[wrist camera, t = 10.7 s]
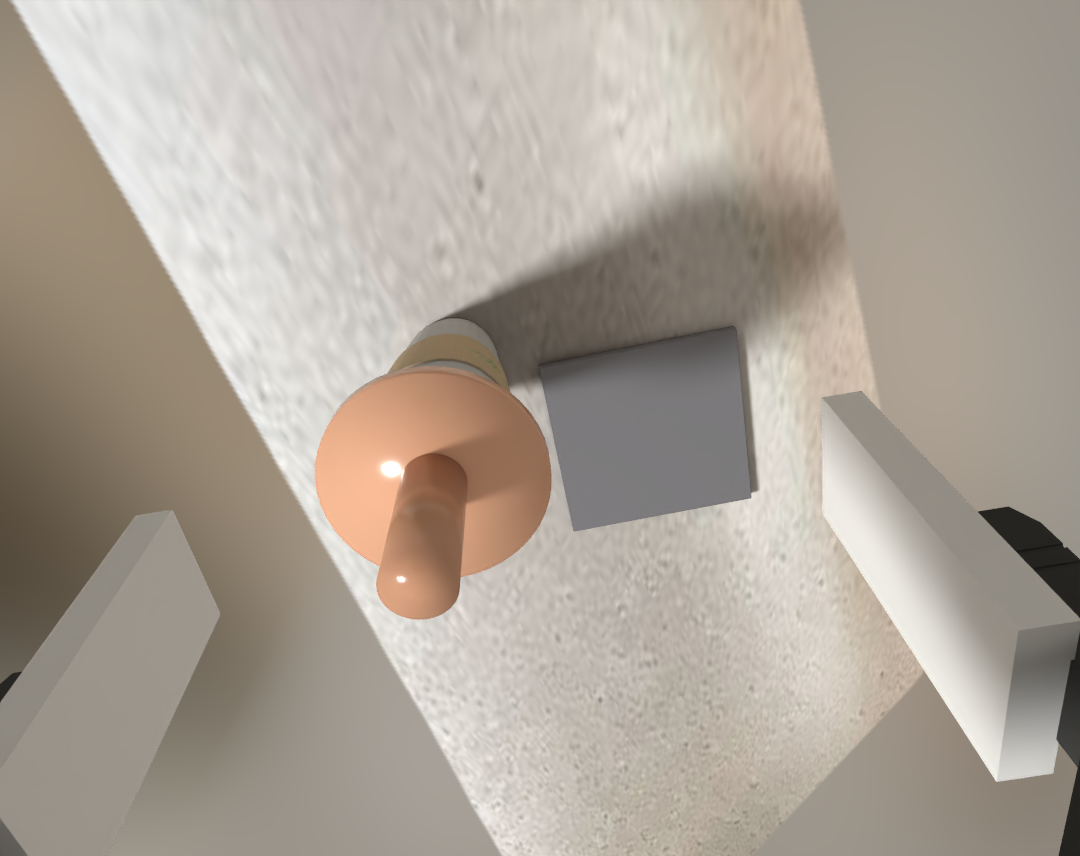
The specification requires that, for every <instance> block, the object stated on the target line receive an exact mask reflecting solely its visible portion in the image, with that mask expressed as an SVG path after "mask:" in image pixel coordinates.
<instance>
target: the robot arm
mask: <svg viewBox="0 0 1080 856" xmlns="http://www.w3.org/2000/svg"><path fill="white" fill-rule="evenodd" d="M822 464H823V515H824V516H825V518H826V519H827V521H828V523H829V524H830V526H831V527H832V529H833V530H834V532H835V533H836V535H837V536H838V538H839V539H840V541H841V543H842V544H843V546H844V547H845V549H846V550H847V552H848V553H849V555H850V556H851V558H852V560H853V561H854V563H855V564H856V566H857V567H858V569H859V570H860V572H861V573H862V575H863V577H864V578H865V580H866V581H867V583H868V584H869V586H870V587H871V589H872V590H873V592H874V593H875V595H876V597H877V598H878V600H879V601H880V603H881V604H882V606H883V607H884V609H885V610H886V612H887V614H888V615H889V617H890V618H891V620H892V621H893V623H894V624H895V626H896V627H897V629H898V630H899V632H900V634H901V635H902V637H903V638H904V640H905V641H906V643H907V644H908V646H909V647H910V649H911V651H912V652H913V654H914V655H915V657H916V658H917V660H918V661H919V663H920V664H921V666H922V668H923V669H924V671H925V672H926V673H927V675H928V677H929V678H930V680H931V681H932V683H933V684H934V686H935V688H936V689H937V691H938V692H939V694H940V695H941V697H942V698H943V700H944V701H945V703H946V704H947V706H948V708H949V709H950V711H951V712H952V714H953V715H954V717H955V718H956V720H957V721H958V723H959V724H960V726H961V728H962V729H963V731H964V732H965V734H966V735H967V737H968V738H969V740H970V741H971V743H972V745H973V746H974V748H975V749H976V751H977V752H978V754H979V755H980V757H981V759H982V760H983V761H984V763H985V765H986V766H987V767H988V769H989V771H990V772H991V774H992V775H993V777H994V779H995V780H996V782H999V781H1006V780H1012V779H1019V778H1025V777H1032V776H1038V775H1045V774H1051V773H1053V770H1054V764H1055V759H1056V754H1057V749H1058V743H1059V744H1060V745H1061V746H1062V748H1063V749H1064V750H1065V751H1066V753H1067V754H1068V755H1069V757H1070V758H1071V759H1072V761H1073V762H1074V763H1075V765H1076V766H1077V767H1078V770H1077V774H1076V779H1075V784H1074V788H1073V793H1072V797H1071V802H1070V807H1069V811H1068V815H1067V821H1066V825H1065V829H1064V834H1063V838H1062V843H1061V847H1060V852H1059V856H1080V559H1079V558H1078V557H1077V556H1076V555H1075V554H1074V553H1072V552H1071V551H1070V550H1069V549H1068V548H1067V547H1066V548H1064V547H1063V543H1062V542H1061V541H1060V540H1059V539H1057V538H1056V537H1055V536H1054V535H1053V534H1052V533H1051V532H1050V531H1049V530H1048V529H1047V528H1046V527H1045V526H1044V525H1043V524H1042V523H1040V522H1038V521H1036V520H1034V519H1032V518H1030V517H1028V516H1026V515H1024V514H1022V513H1020V512H1018V511H1016V510H1014V509H1012V508H1010V507H1004V508H997V509H992V510H985V511H979V512H977V511H976V510H975V509H974V508H973V507H972V506H971V505H970V504H969V502H967V500H966V499H965V498H964V497H963V496H962V495H961V494H960V493H959V492H958V491H957V490H956V489H955V488H954V487H953V486H952V485H951V484H950V483H949V482H948V481H947V480H946V479H945V477H944V476H943V475H942V474H941V473H940V472H939V471H938V470H937V469H936V468H935V467H934V466H933V465H932V464H931V463H930V462H929V461H928V460H927V459H926V458H925V457H924V456H923V455H922V454H921V453H920V451H919V450H918V449H917V448H916V447H915V446H914V445H913V444H912V443H911V442H910V441H909V440H908V439H907V438H906V437H905V436H904V435H903V434H902V433H901V432H900V431H899V430H898V429H897V428H896V427H895V426H894V424H892V423H891V421H890V420H889V419H888V418H887V417H886V416H885V415H884V414H883V413H882V412H881V411H880V410H879V409H878V408H877V407H876V406H875V405H874V404H873V403H872V402H871V401H870V399H869V398H868V397H867V396H866V395H865V394H864V393H863V392H862V391H858V392H852V393H847V394H841V395H835V396H829V397H823V398H822ZM219 616H220V612H219V610H218V607H217V605H216V603H215V601H214V599H213V597H212V594H211V592H210V590H209V588H208V586H207V584H206V582H205V579H204V577H203V575H202V573H201V571H200V568H199V566H198V564H197V562H196V560H195V558H194V555H193V553H192V551H191V549H190V547H189V545H188V542H187V541H186V538H185V536H184V534H183V532H182V530H181V527H180V526H179V523H178V521H177V519H176V517H175V514H174V512H173V510H166V511H160V512H155V513H149V514H143V515H137V516H135V517H134V519H133V520H132V521H131V523H130V524H129V525H128V527H127V528H126V530H125V531H124V533H123V534H122V535H121V537H120V538H119V539H118V541H117V542H116V544H115V545H114V546H113V548H112V549H111V551H110V552H109V553H108V555H107V556H106V557H105V559H104V560H103V561H102V563H101V564H100V566H99V567H98V568H97V570H96V571H95V573H94V574H93V575H92V577H91V578H90V579H89V581H88V582H87V583H86V585H85V586H84V588H83V589H82V591H81V592H80V593H79V595H78V596H77V597H76V599H75V600H74V601H73V603H72V604H71V605H70V607H69V608H68V610H67V611H66V612H65V614H64V615H63V617H62V618H61V619H60V621H59V622H58V623H57V625H56V626H55V628H54V629H53V630H52V632H51V633H50V634H49V636H48V637H47V639H46V640H45V642H44V643H43V644H42V645H41V647H40V648H39V650H38V651H37V653H36V654H35V655H34V656H33V658H32V659H31V661H30V662H29V663H28V665H27V666H26V668H25V669H24V670H23V672H17V673H13V674H11V675H10V676H9V677H8V678H7V679H6V680H4V681H3V682H2V683H1V684H0V856H108V855H109V853H110V851H111V848H112V846H113V844H114V842H115V840H116V838H117V836H118V833H119V831H120V829H121V827H122V825H123V823H124V820H125V818H126V816H127V814H128V812H129V810H130V808H131V805H132V803H133V801H134V799H135V797H136V795H137V793H138V790H139V788H140V786H141V784H142V782H143V780H144V777H145V775H146V773H147V771H148V769H149V767H150V765H151V762H152V760H153V758H154V756H155V754H156V752H157V749H158V747H159V745H160V743H161V741H162V739H163V737H164V734H165V732H166V730H167V728H168V726H169V723H170V722H171V719H172V717H173V715H174V713H175V711H176V709H177V707H178V704H179V702H180V700H181V698H182V696H183V693H184V691H185V689H186V687H187V685H188V683H189V681H190V679H191V676H192V674H193V672H194V670H195V668H196V665H197V663H198V661H199V659H200V657H201V655H202V653H203V650H204V648H205V646H206V644H207V642H208V640H209V638H210V635H211V633H212V631H213V629H214V627H215V625H216V622H217V620H218V618H219Z"/></svg>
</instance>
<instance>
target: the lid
mask: <svg viewBox="0 0 1080 856" xmlns="http://www.w3.org/2000/svg"><path fill="white" fill-rule="evenodd" d="M315 482H316V489H317V494H318V498H319V501H320V504H321V507H322V509H323V511H324V513H325V516H326V518H327V519H328V521H329V522H330V524H331V526H332V527H333V529H334V530H335V531H336V532H337V534H338V535H339V536H340V537H341V538H342V540H343V541H344V542H346V543H347V544H348V545H349V546H350V547H351V548H352V549H353V550H354V551H356V552H357V553H358V554H360V555H361V556H363V557H364V558H366V559H367V560H369V561H371V562H373V563H374V564H376V565H378V566H380V568H379V573H378V577H377V582H376V587H377V592H378V595H379V597H380V599H381V601H382V602H383V604H384V605H385V606H386V607H387V608H388V609H390V610H391V611H392V612H394V613H396V614H398V615H400V616H402V617H406V618H410V619H429V618H433V617H436V616H439V615H441V614H443V613H444V612H446V611H447V610H448V609H450V608H451V607H452V606H453V604H454V603H455V601H456V600H457V597H458V595H459V589H460V577H463V576H467V575H471V574H475V573H478V572H481V571H484V570H486V569H489V568H491V567H493V566H495V565H497V564H499V563H501V562H503V561H504V560H506V559H507V558H509V557H510V556H512V555H513V554H514V553H515V552H517V551H518V550H519V549H520V548H521V547H522V546H523V545H524V544H525V543H526V542H527V541H528V540H529V539H530V538H531V537H532V535H533V534H534V532H535V531H536V529H537V528H538V526H539V525H540V523H541V521H542V519H543V517H544V515H545V512H546V509H547V506H548V503H549V498H550V492H551V466H550V459H549V452H548V448H547V445H546V441H545V438H544V436H543V434H542V432H541V429H540V427H539V425H538V424H537V422H536V421H535V419H534V417H533V416H532V414H531V413H530V412H529V411H528V410H527V408H526V407H525V406H524V405H523V404H522V403H521V402H520V401H519V400H518V399H517V398H516V397H515V396H514V395H512V394H511V393H510V392H509V391H507V390H506V389H504V388H503V387H501V386H500V385H498V384H497V383H495V382H493V381H491V380H489V379H487V378H485V377H483V376H480V375H477V374H475V373H472V372H469V371H465V370H461V369H456V368H451V367H442V366H419V367H412V368H405V369H401V370H397V371H394V372H390V373H388V374H385V375H383V376H380V377H378V378H375V379H374V380H372V381H370V382H368V383H367V384H365V385H363V386H362V387H360V388H359V389H358V390H357V391H355V392H354V393H353V394H351V395H350V396H349V397H348V398H347V399H346V400H345V401H344V402H343V403H342V405H341V406H340V407H339V408H338V410H337V411H336V413H335V414H334V415H333V417H332V419H331V421H330V423H329V424H328V426H327V428H326V430H325V433H324V435H323V437H322V440H321V443H320V446H319V449H318V451H317V457H316V463H315Z"/></svg>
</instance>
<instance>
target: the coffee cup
mask: <svg viewBox="0 0 1080 856" xmlns="http://www.w3.org/2000/svg"><path fill="white" fill-rule="evenodd" d="M419 366H442V367H451V368H456V369H461V370H465V371H469V372H472V373H475V374H477V375H480V376H483V377H485V378H487V379H489V380H491V381H493V382H495V383H497V384H498V385H500V386H501V387H503V388H504V389H506V390H507V391H509V392H510V389H509V386H508V382H507V378H506V375H505V373H504V370H503V368H502V366H501V364H500V362H499V358H498V354H497V351H496V349H495V346H494V344H493V342H492V340H491V339H490V337H489V336H488V334H487V333H486V332H485V331H484V330H483V329H482V328H481V327H479V326H478V325H477V324H475V323H473V322H471V321H469V320H465V319H460V318H450V319H444V320H440V321H437V322H434V323H432V324H430V325H429V326H427V327H425V328H424V329H423V330H422V331H420V332H419V333H418V334H417V335H416V337H415V338H414V339H413V341H412V342H411V344H410V345H409V346H408V348H407V349H406V350H405V351H404V352H403V353H402V354H401V355H400V356H399V358H398V359H397V360H396V361H395V363H394V364H393V366H392V367H391V369H390V370H389V372H388V373H390V372H394V371H397V370H401V369H405V368H412V367H419ZM388 373H387V374H388Z"/></svg>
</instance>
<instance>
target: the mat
mask: <svg viewBox="0 0 1080 856" xmlns="http://www.w3.org/2000/svg"><path fill="white" fill-rule="evenodd" d="M539 370H540V375H541V379H542V384H543V389H544V393H545V398H546V403H547V408H548V412H549V417H550V422H551V427H552V431H553V436H554V441H555V445H556V450H557V455H558V460H559V464H560V469H561V474H562V478H563V483H564V488H565V493H566V497H567V502H568V507H569V512H570V516H571V521H572V526H573V530H574V531H579V530H585V529H590V528H595V527H600V526H606V525H611V524H616V523H622V522H627V521H632V520H638V519H643V518H648V517H653V516H659V515H664V514H669V513H675V512H680V511H685V510H691V509H696V508H701V507H706V506H712V505H717V504H722V503H728V502H733V501H738V500H744V499H749V498H751V488H750V477H749V466H748V455H747V444H746V433H745V422H744V411H743V400H742V388H741V377H740V366H739V355H738V344H737V333H736V329H735V327H734V326H733V327H728V328H723V329H718V330H713V331H708V332H703V333H698V334H693V335H688V336H683V337H678V338H673V339H668V340H663V341H658V342H653V343H648V344H643V345H638V346H633V347H628V348H623V349H618V350H613V351H608V352H603V353H598V354H593V355H588V356H583V357H578V358H572V359H567V360H562V361H557V362H552V363H547V364H542V365H539Z"/></svg>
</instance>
